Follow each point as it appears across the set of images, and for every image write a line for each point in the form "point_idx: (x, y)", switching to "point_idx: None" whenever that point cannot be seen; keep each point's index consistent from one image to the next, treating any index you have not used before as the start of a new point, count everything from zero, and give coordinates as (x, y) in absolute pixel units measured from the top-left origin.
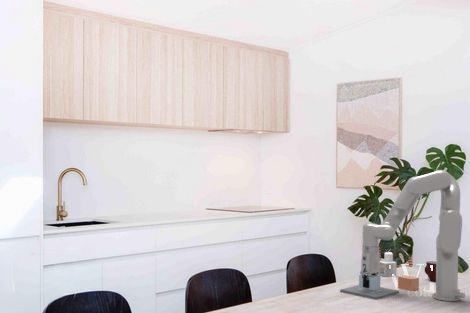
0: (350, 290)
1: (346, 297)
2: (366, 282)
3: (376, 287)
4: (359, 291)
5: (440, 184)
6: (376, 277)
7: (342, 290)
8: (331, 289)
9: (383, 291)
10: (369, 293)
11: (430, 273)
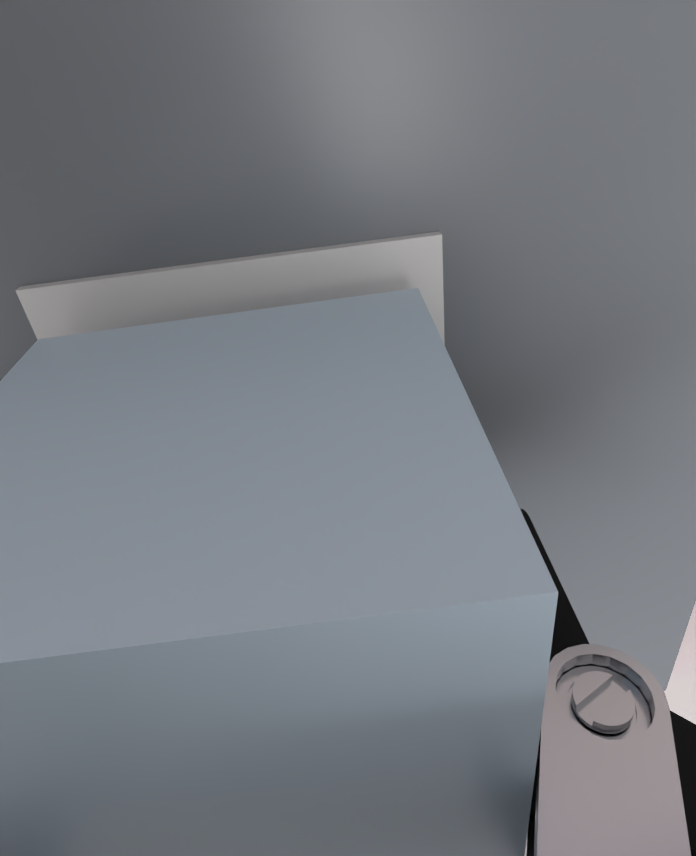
0: (618, 601)
1: None
2: (555, 583)
3: (244, 337)
4: (573, 490)
5: None
6: (195, 615)
7: (671, 656)
8: None
9: (31, 190)
10: (595, 245)
11: None
